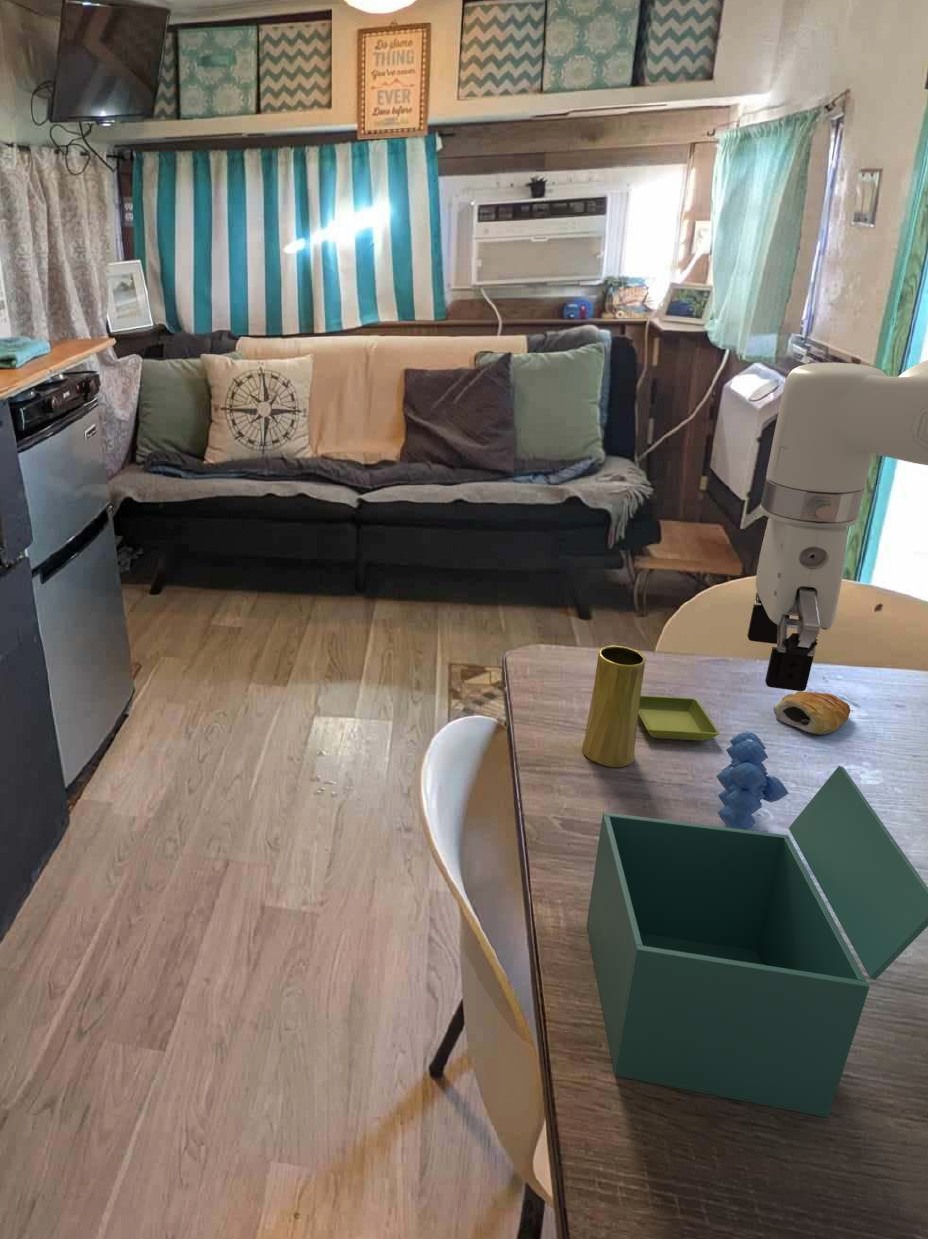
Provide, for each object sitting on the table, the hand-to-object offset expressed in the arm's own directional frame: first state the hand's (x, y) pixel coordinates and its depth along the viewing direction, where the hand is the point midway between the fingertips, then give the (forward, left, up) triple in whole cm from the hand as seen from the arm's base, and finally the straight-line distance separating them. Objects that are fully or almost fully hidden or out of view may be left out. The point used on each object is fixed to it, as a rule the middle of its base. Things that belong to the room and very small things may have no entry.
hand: (774, 663), depth 83 cm
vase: (+11, -15, -22) cm, 29 cm away
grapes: (-1, -3, -22) cm, 23 cm away
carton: (+10, +23, -22) cm, 34 cm away
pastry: (-16, -28, -22) cm, 39 cm away
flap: (+1, +23, -5) cm, 24 cm away
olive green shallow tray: (+2, -23, -22) cm, 32 cm away
